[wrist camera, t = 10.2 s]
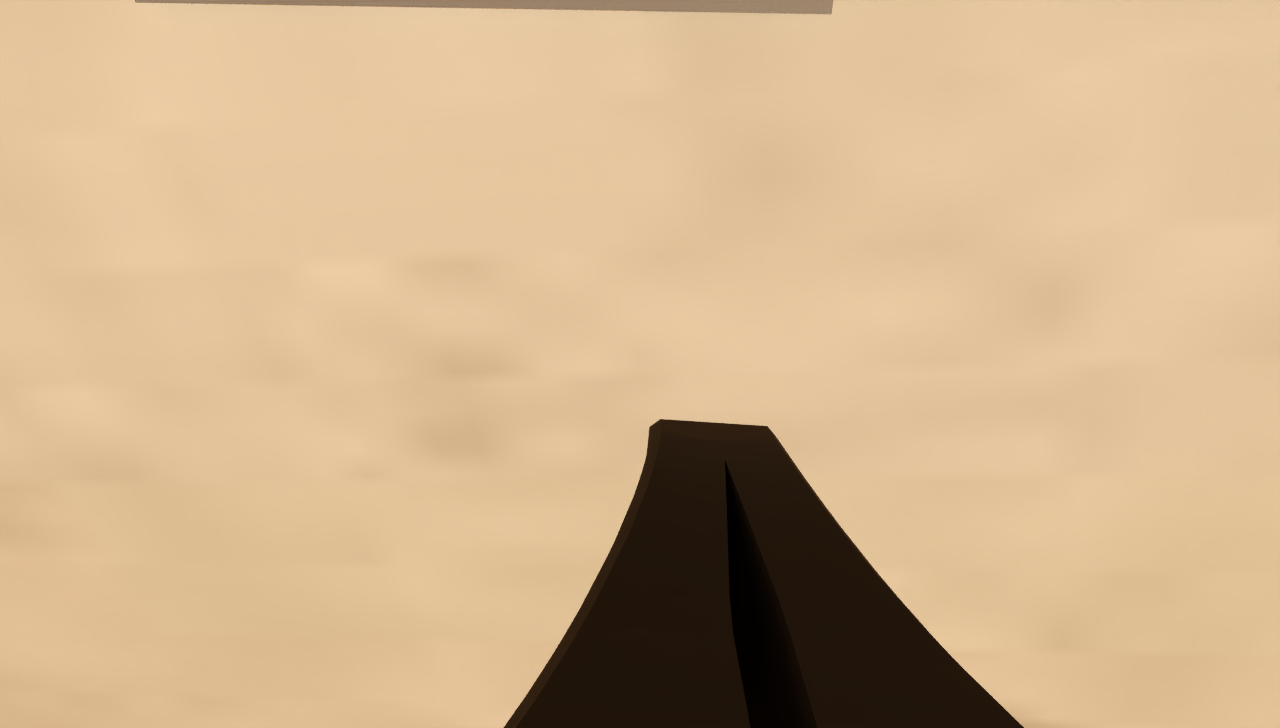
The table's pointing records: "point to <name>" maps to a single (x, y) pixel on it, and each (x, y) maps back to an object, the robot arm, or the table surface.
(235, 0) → the dock
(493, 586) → the table surface
